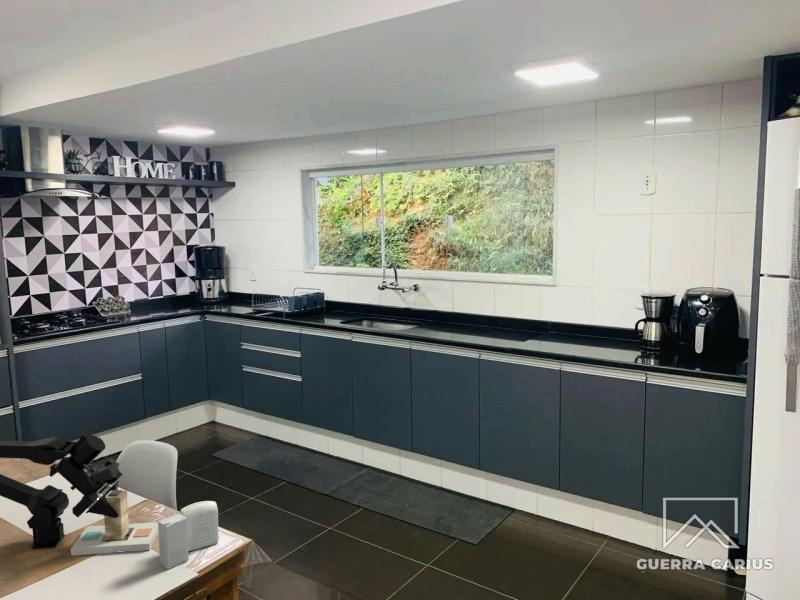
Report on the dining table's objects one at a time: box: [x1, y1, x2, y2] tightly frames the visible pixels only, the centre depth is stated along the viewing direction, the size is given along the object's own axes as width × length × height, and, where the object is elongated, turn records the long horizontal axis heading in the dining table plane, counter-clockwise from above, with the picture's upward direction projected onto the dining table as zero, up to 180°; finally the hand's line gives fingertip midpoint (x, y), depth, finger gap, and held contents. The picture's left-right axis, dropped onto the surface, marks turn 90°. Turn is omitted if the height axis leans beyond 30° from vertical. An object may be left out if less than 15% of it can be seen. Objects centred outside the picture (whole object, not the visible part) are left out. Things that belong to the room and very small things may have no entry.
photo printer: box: [179, 500, 219, 552], centre depth 164 cm, size 10×4×12 cm, turn 123°
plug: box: [103, 489, 130, 540], centre depth 165 cm, size 4×4×13 cm
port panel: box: [70, 521, 159, 556], centre depth 166 cm, size 20×12×2 cm, turn 98°
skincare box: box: [157, 513, 190, 570], centre depth 155 cm, size 6×4×12 cm
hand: (121, 512), depth 165 cm, fingers closed on plug, 4 cm apart
